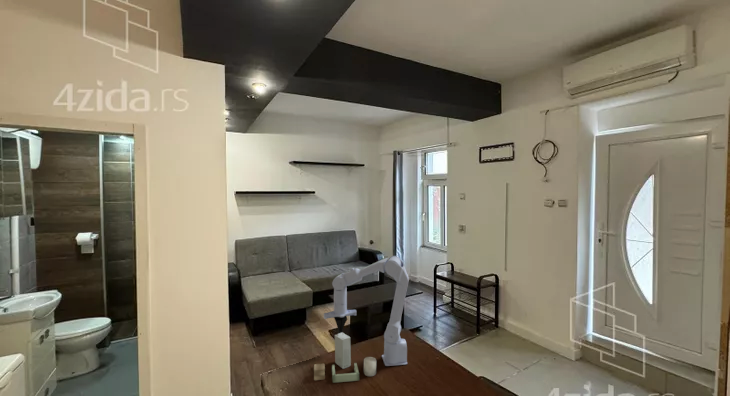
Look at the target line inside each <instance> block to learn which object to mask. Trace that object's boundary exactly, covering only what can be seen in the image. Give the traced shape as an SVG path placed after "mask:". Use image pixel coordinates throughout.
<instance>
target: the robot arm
mask: <svg viewBox="0 0 730 396" xmlns="http://www.w3.org/2000/svg"><path fill="white" fill-rule="evenodd" d="M376 272H380V273H383V274H384V273H386V274H387V275H388V276H390V277H391V278H392V279H394V281H395V282H396V286H395V287H396V288H395V292H394V295H393V296H394V297H393V302H392V307H391V313H390V316H389V317H390V318H389V322H388V323H387V326H386V329H385V331H384V333H383V338H384V341H383V342H384V343H383V347H384V348H383V354H382V355H381V358H382V360H383V364H384V366H385V367H390V366H402V365H403V366H406V365H408V346H407V341H406V339H405V338H401V335H400V334H401V331H402V325H401V321H402V314H403V310H404V307H405V300H406V295H407V290H408V286H409V282H410V281H409V280H410V277H409V275H408V272H407V269H406V267H405V264H404V261H403V260H402V259H401V258H400V257H399V256H398V255H391V256H390V257H386V258H382V259H380V260H378V261H376V262H373V263H372V264H369V265H367V266H366V267H363V268H358V267H352V268H350V271H346V272H341V274H339V275H337V276H335V277H334V278H333V280H332V282H331V284H332V287H333V310H332V311H329V312H324V313H323V319H324V320H327V319H333V318H334V321H335V323H336V327H337V333H338V334H339V333H342V332H343V331H344V328H345V324H346V323H347V322H348V316H357V309H348V291H347V289H348V288H347V286H348V287H349V286H352V285H354V284H357V283H359V282H362V280H363V277H366V276H369V275H371V274H374V273H376Z"/></svg>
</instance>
